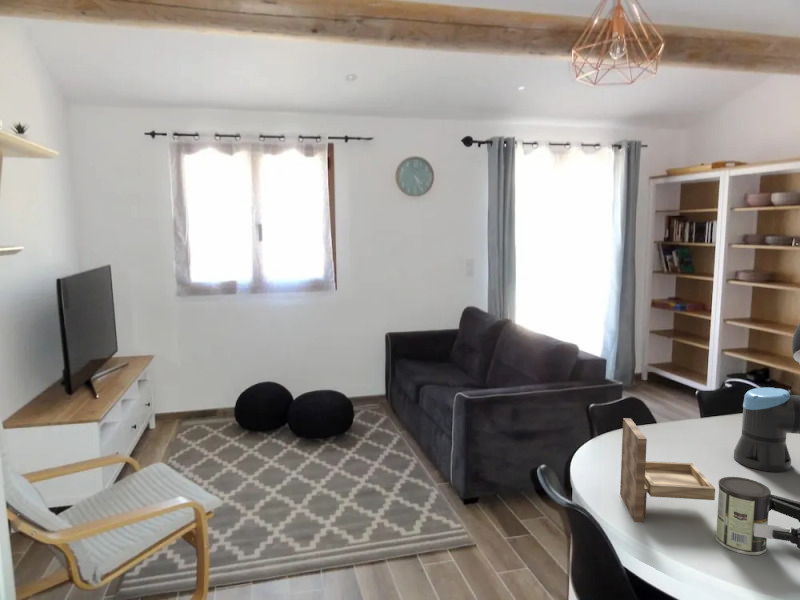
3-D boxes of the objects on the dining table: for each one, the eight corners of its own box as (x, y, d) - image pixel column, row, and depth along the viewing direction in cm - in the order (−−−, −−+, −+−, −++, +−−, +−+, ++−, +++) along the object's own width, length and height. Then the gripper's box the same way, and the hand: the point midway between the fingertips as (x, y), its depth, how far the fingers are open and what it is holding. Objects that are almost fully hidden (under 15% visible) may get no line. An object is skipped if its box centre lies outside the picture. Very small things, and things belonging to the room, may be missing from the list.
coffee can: (755, 533, 133) (759, 477, 131) (774, 557, 123) (779, 498, 121) (708, 529, 135) (712, 474, 133) (724, 552, 125) (728, 494, 123)
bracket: (712, 526, 136) (718, 441, 133) (634, 521, 139) (638, 438, 136) (690, 497, 151) (695, 420, 148) (620, 493, 154) (623, 418, 151)
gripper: (883, 578, 110) (761, 560, 116) (830, 516, 133) (730, 504, 140) (887, 543, 109) (763, 526, 115) (832, 487, 132) (732, 476, 139)
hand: (745, 514), depth 128 cm, fingers open, 13 cm apart
